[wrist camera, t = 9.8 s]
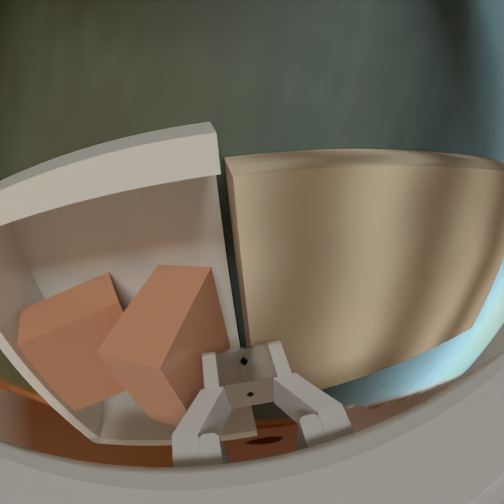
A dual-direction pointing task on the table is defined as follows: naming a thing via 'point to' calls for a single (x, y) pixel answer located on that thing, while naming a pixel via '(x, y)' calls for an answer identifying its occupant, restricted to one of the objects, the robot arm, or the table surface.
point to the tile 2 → (167, 340)
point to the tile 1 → (73, 341)
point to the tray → (114, 249)
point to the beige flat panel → (362, 253)
